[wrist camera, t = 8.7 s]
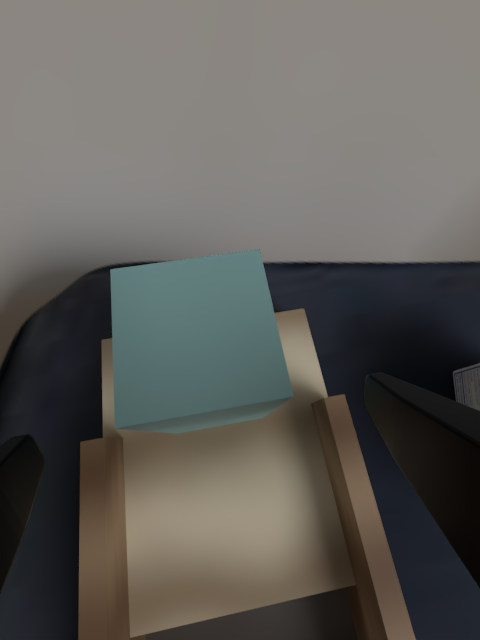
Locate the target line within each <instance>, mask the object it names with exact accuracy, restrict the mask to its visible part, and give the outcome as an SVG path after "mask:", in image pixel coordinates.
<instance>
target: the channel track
mask: <svg viewBox="0 0 480 640" xmlns="http://www.w3.org/2000/svg"><path fill="white" fill-rule="evenodd" d="M275 318H276V322H277V326H278V331H279V335H280V339H281V343H282V348H283V352H284V356H285V361H286V365H287V369H288V374H289V378H290V382H291V387H292V391H293V395H294V397H293V398H291V399H290V400H288V401H287V402H285V403H284V404H282V405H281V406H279V407H278V408H276V409H275V410H274V411H272V412H271V413H269V414H268V415H266V416H265V417H263V418H261V419H255V420H250V421H244V422H239V423H233V424H228V425H223V426H217V427H212V428H206V429H201V430H195V431H190V432H184V433H179V434H173V433H161V432H149V431H138V430H126V429H115V415H114V380H113V344H112V338H110V339H103V340H102V409H103V438H99V439H93V440H88V441H82V442H80V524H79V625H78V640H416V639H415V636H414V632H413V629H412V625H411V622H410V618H409V615H408V612H407V608H406V605H405V601H404V598H403V594H402V591H401V587H400V584H399V581H398V577H397V574H396V570H395V567H394V563H393V560H392V556H391V553H390V550H389V546H388V543H387V539H386V536H385V532H384V529H383V525H382V522H381V518H380V515H379V512H378V508H377V505H376V501H375V498H374V494H373V491H372V487H371V484H370V481H369V477H368V474H367V470H366V467H365V463H364V460H363V456H362V453H361V449H360V446H359V443H358V439H357V436H356V432H355V429H354V425H353V422H352V418H351V415H350V412H349V408H348V405H347V401H346V398H345V394H343V395H337V396H332V397H328V396H327V392H326V388H325V384H324V381H323V377H322V373H321V370H320V366H319V362H318V358H317V355H316V351H315V347H314V344H313V340H312V336H311V333H310V329H309V325H308V321H307V318H306V314H305V310H304V309H297V310H291V311H284V312H278V313H275Z"/></svg>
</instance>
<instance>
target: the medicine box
mask: <svg viewBox="0 0 480 640" xmlns="http://www.w3.org/2000/svg"><path fill="white" fill-rule="evenodd" d="M453 380H454V388H455V397H456V402H459V403H461V404H464V405H466V406H469V407H471V408H474V409H476V410H479V411H480V363H479V364H475V365H472V366H469V367H465V368H463V369H459V370H456V371H453Z"/></svg>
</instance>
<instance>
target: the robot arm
mask: <svg viewBox="0 0 480 640" xmlns="http://www.w3.org/2000/svg"><path fill="white" fill-rule="evenodd" d="M364 402H365V405H366V408H367V410H368V411H369V413H370V415H371V417H372V419H373V421H374V423H375V425H376V427H377V429H378V431H379V432H380V434H381V436H382V438H383V440H384V442H385V444H386V446H387V448H388V449H389V451H390V453H391V455H392V456H393V458H394V460H395V461H396V463H397V464H398V466H399V467H400V469H401V470H402V472H403V473H404V475H405V476H406V478H407V479H408V481H409V482H410V484H411V485H412V487H413V488H414V490H415V491H416V493H417V494H418V496H419V497H420V499H421V500H422V502H423V503H424V505H425V506H426V508H427V509H428V511H429V512H430V514H431V515H432V517H433V518H434V520H435V521H436V523H437V524H438V526H439V527H440V529H441V530H442V532H443V534H444V535H445V537H446V538H447V540H448V541H449V543H450V544H451V546H452V547H453V549H454V550H455V552H456V553H457V555H458V556H459V558H460V559H461V561H462V562H463V564H464V565H465V567H466V568H467V570H468V571H469V573H470V574H471V576H472V577H473V579H474V580H475V582H476V583H477V585H478V586H479V588H480V411H479V410H476V409H474V408H471V407H469V406H466V405H464V404H461V403H459V402H456V401H453V400H451V399H448V398H446V397H443V396H441V395H438V394H436V393H433V392H431V391H428V390H426V389H423V388H420V387H418V386H415V385H413V384H410V383H408V382H405V381H403V380H400V379H398V378H395V377H393V376H390V375H387V374H385V373H382V372H378V373H373V374H368V375H367V376H366V379H365V391H364ZM43 468H44V457H43V455H42V453H41V451H40V449H39V447H38V445H37V443H36V441H35V439H34V437H33V436H32V435H29V434H27V435H21V436H15V437H12V438H10V439H9V440H7V441H6V442H5V443H3V444H2V445H0V593H1V590H2V588H3V585H4V583H5V580H6V578H7V575H8V573H9V570H10V568H11V565H12V563H13V560H14V558H15V555H16V553H17V550H18V548H19V545H20V543H21V540H22V537H23V535H24V532H25V529H26V526H27V523H28V520H29V517H30V513H31V510H32V506H33V503H34V499H35V496H36V493H37V489H38V486H39V482H40V479H41V475H42V472H43Z"/></svg>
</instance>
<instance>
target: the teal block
mask: <svg viewBox="0 0 480 640" xmlns="http://www.w3.org/2000/svg"><path fill="white" fill-rule="evenodd" d="M110 272H111V308H112V344H113V380H114V415H115V429H126V430H138V431H149V432H161V433H173V434H179V433H184V432H190V431H195V430H201V429H206V428H212V427H217V426H223V425H228V424H233V423H239V422H244V421H250V420H255V419H261V418H263V417H265V416H266V415H268V414H269V413H271V412H272V411H274V410H275V409H276V408H278V407H279V406H281V405H282V404H284V403H285V402H287V401H288V400H290V399H291V398H293V397H294V395H293V391H292V387H291V382H290V378H289V374H288V369H287V365H286V361H285V356H284V352H283V348H282V343H281V339H280V335H279V331H278V326H277V322H276V318H275V313H274V309H273V305H272V300H271V296H270V292H269V287H268V283H267V279H266V274H265V270H264V266H263V262H262V257H261V253H260V249H257V250H250V251H242V252H235V253H228V254H220V255H213V256H206V257H199V258H191V259H184V260H176V261H169V262H162V263H154V264H147V265H140V266H132V267H125V268H118V269H110Z"/></svg>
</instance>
